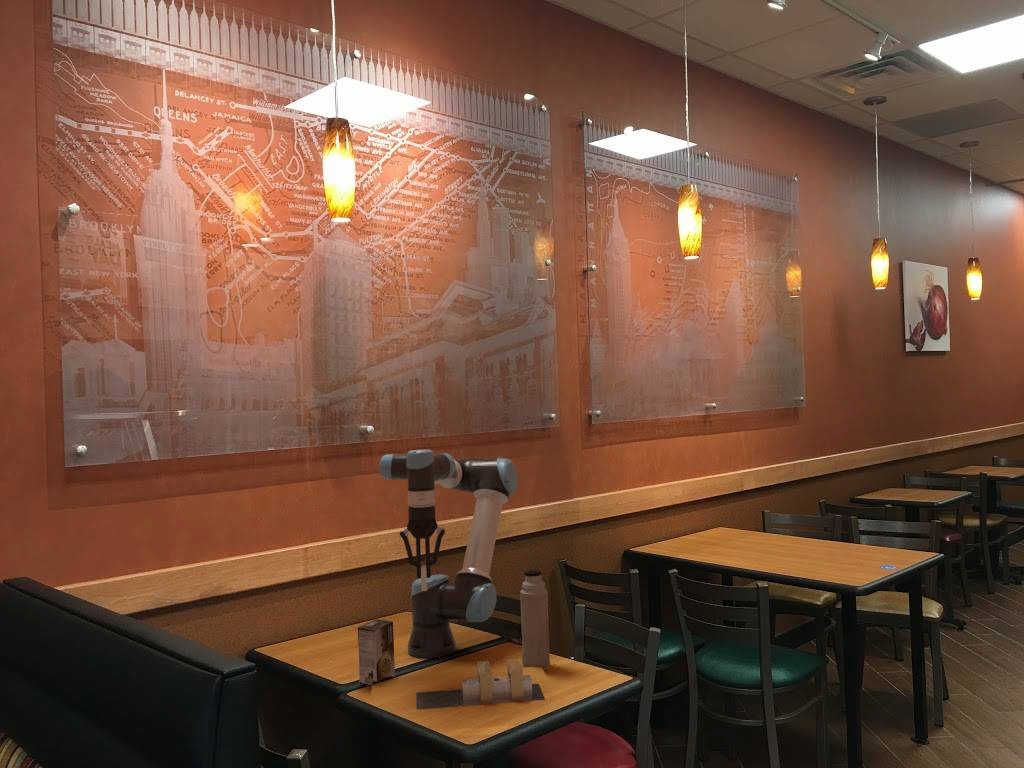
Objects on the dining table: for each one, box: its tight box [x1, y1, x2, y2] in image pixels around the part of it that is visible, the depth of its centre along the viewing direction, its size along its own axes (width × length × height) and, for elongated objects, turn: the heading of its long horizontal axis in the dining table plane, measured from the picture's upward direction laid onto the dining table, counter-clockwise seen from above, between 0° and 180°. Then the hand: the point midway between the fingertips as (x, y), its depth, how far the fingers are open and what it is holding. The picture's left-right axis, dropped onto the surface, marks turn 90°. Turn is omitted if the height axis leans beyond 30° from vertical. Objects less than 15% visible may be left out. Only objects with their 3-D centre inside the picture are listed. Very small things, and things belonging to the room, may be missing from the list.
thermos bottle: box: [519, 569, 551, 671], centre depth 245 cm, size 8×8×28 cm
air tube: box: [461, 674, 533, 700], centre depth 219 cm, size 4×18×4 cm, turn 97°
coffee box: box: [357, 618, 396, 686], centre depth 237 cm, size 9×6×16 cm
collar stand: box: [415, 658, 546, 711], centre depth 219 cm, size 12×33×9 cm, turn 97°
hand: (424, 589), depth 233 cm, fingers closed
